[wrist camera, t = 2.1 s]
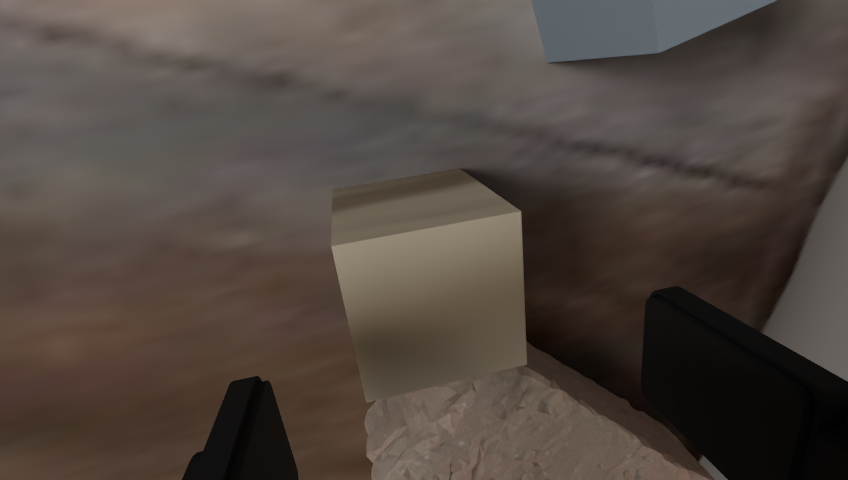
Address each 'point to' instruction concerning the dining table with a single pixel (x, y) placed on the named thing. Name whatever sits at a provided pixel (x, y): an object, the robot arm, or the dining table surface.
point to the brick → (522, 431)
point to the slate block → (629, 25)
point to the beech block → (429, 280)
